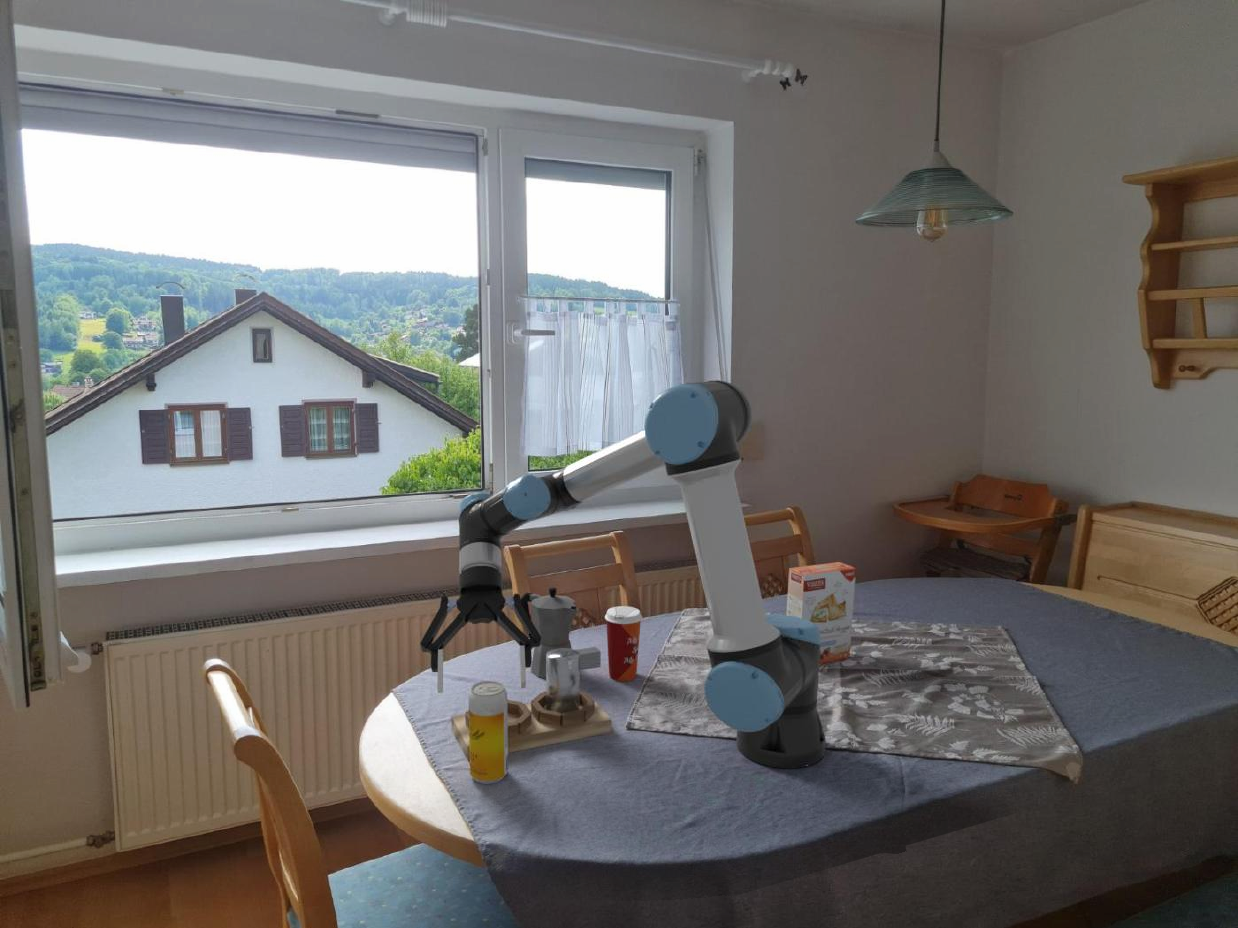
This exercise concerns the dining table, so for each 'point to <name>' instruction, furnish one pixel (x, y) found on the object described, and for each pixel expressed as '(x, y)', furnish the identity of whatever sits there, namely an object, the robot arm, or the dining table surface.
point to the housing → (541, 724)
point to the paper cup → (623, 642)
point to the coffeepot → (549, 624)
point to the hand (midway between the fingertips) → (482, 687)
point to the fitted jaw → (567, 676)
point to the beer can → (488, 732)
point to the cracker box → (825, 604)
